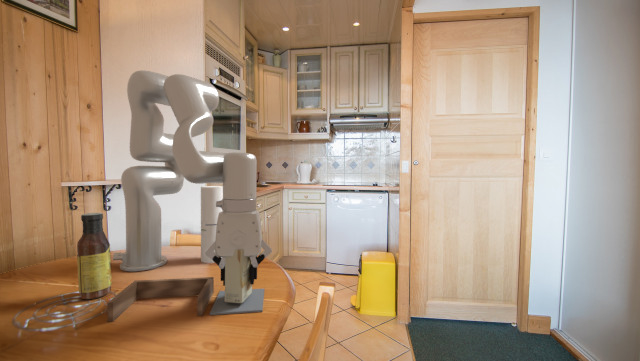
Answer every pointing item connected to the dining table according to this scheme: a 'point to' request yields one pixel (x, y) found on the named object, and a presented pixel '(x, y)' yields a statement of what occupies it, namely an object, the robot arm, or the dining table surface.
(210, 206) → the cylindrical container
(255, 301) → the grey rubber mat
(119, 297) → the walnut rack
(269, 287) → the dining table surface
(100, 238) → the sauce bottle
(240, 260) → the skincare box
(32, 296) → the dining table surface
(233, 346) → the dining table surface
